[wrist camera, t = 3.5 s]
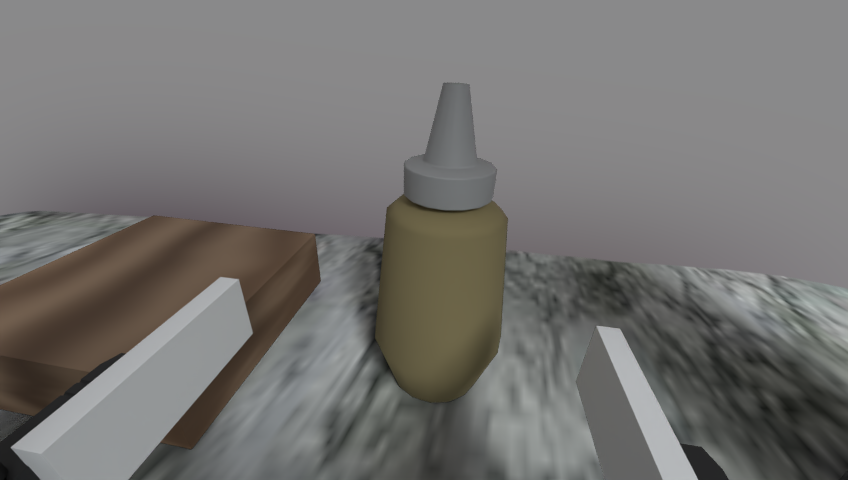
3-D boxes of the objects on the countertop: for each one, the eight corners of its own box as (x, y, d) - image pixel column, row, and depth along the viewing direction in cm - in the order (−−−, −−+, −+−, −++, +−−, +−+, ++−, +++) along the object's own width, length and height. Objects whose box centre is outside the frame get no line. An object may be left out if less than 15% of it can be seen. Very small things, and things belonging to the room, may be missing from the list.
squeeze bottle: (350, 383, 22) (324, 79, 14) (414, 314, 28) (423, 77, 20) (464, 447, 19) (520, 96, 10) (508, 353, 25) (565, 86, 17)
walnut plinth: (320, 281, 32) (314, 233, 30) (192, 449, 18) (161, 385, 16) (170, 260, 34) (153, 215, 32) (-51, 398, 20) (-110, 335, 18)
